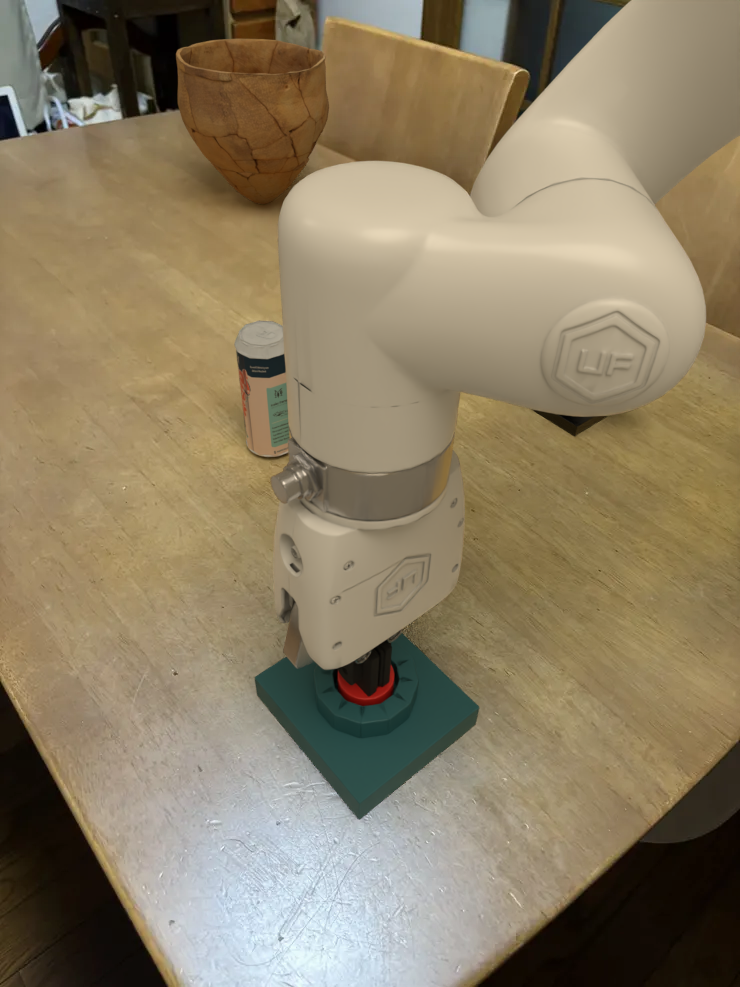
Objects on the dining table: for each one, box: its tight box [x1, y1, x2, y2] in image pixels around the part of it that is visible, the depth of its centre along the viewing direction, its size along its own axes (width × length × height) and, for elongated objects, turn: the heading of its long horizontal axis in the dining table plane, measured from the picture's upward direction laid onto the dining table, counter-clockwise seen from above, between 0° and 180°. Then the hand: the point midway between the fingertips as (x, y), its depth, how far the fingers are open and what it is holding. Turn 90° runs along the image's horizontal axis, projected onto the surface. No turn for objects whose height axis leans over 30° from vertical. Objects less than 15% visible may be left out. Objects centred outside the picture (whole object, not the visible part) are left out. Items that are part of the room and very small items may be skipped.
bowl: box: [175, 38, 330, 205], centre depth 105 cm, size 21×20×20 cm
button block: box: [253, 632, 480, 820], centre depth 49 cm, size 11×10×4 cm
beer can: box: [234, 320, 290, 458], centre depth 66 cm, size 5×5×12 cm
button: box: [338, 665, 394, 706], centre depth 48 cm, size 4×4×2 cm
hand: (363, 674), depth 47 cm, fingers closed
